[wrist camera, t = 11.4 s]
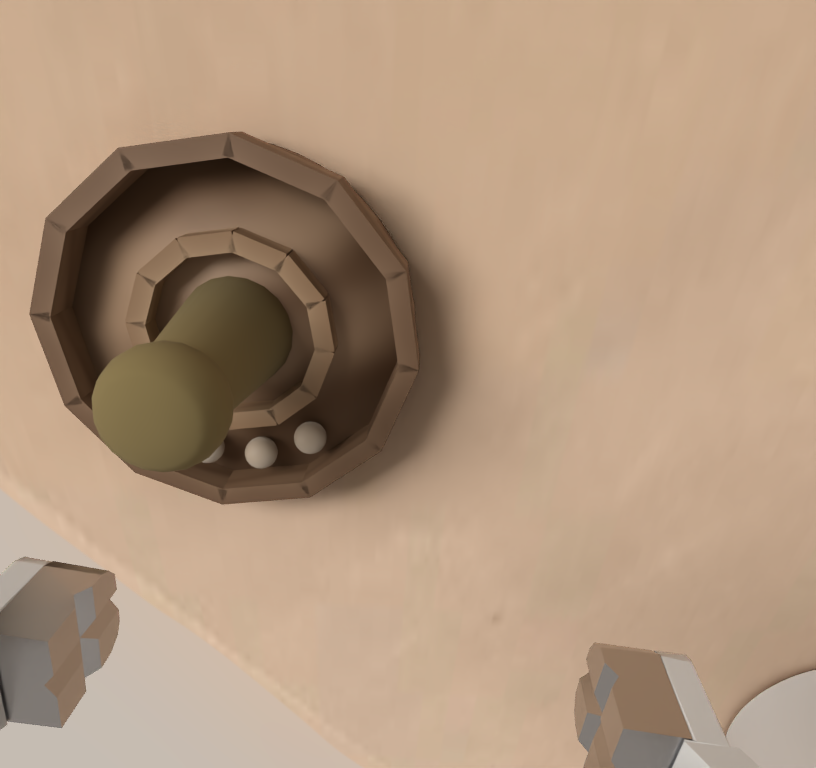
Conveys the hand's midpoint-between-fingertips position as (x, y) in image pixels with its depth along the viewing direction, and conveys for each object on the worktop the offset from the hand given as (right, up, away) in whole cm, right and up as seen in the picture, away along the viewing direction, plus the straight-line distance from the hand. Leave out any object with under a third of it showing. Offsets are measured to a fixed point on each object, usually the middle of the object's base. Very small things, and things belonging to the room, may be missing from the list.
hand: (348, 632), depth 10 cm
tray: (-8, +8, +23) cm, 25 cm away
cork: (-8, +7, +22) cm, 25 cm away
